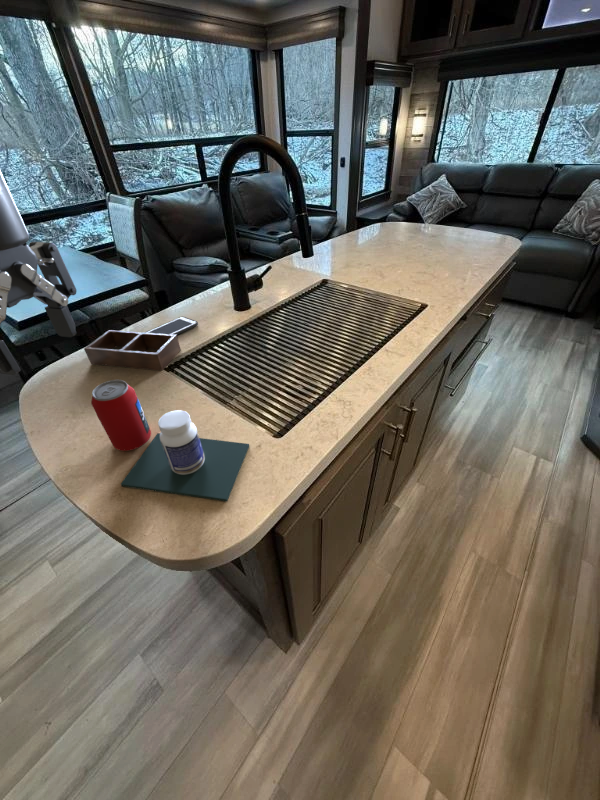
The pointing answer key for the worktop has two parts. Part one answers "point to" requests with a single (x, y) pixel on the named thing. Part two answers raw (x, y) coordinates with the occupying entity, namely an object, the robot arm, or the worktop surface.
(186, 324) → the cell phone
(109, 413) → the beverage can
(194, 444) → the pill bottle
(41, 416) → the worktop surface
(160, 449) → the mat
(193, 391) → the worktop surface
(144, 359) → the divided tray
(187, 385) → the worktop surface
